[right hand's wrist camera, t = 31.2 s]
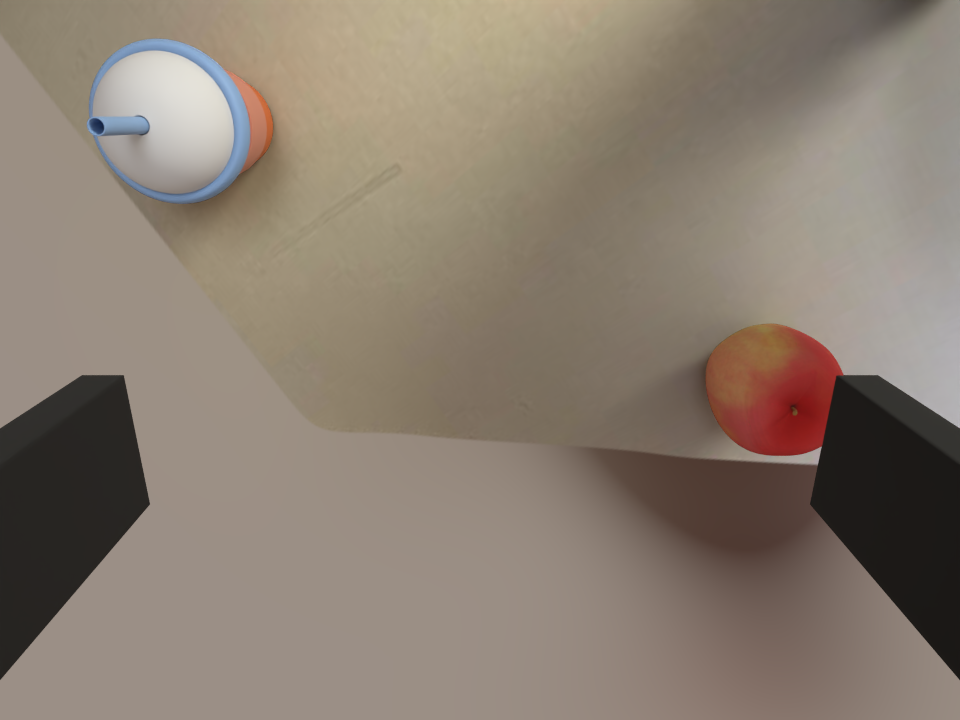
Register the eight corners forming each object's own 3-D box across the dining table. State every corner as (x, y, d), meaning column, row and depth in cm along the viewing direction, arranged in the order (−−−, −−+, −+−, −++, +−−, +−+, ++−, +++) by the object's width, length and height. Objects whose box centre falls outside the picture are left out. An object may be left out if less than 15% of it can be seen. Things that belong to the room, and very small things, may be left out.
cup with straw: (200, 201, 50) (56, 245, 33) (147, 76, 47) (-42, 53, 30) (312, 167, 49) (223, 194, 32) (266, 37, 46) (141, -9, 29)
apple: (819, 317, 53) (892, 360, 44) (783, 423, 56) (843, 484, 47) (703, 300, 52) (752, 340, 43) (674, 407, 56) (713, 466, 46)
